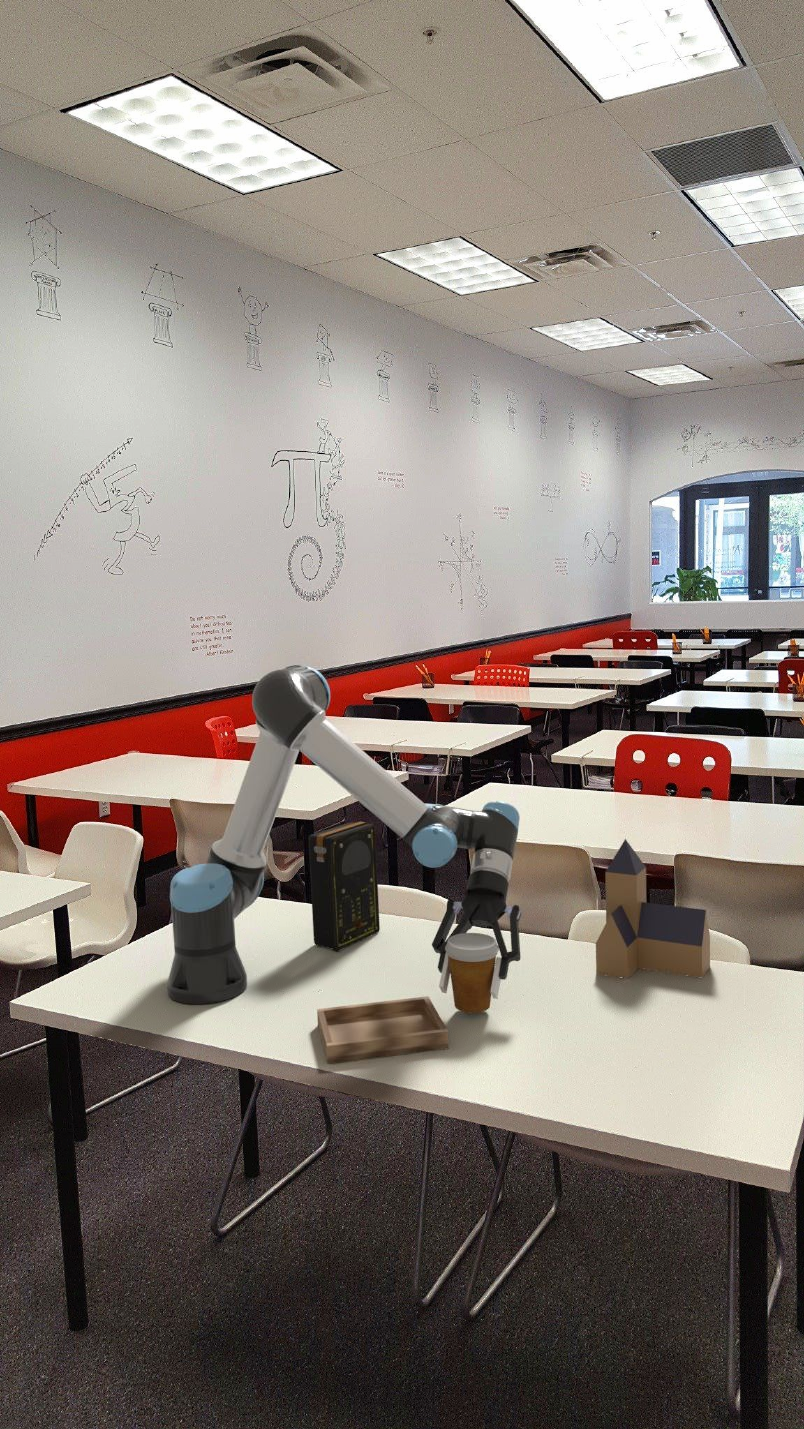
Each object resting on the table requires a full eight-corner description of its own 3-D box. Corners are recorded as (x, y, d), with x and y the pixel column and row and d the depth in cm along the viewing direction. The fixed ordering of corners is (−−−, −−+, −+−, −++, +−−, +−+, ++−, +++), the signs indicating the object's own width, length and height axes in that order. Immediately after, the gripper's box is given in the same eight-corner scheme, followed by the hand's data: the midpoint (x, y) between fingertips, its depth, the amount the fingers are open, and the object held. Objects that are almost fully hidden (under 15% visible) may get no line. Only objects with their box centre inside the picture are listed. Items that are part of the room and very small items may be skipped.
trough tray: (327, 1063, 161) (326, 1046, 161) (317, 1025, 176) (317, 1009, 176) (448, 1048, 165) (447, 1031, 165) (429, 1012, 180) (428, 996, 179)
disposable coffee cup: (509, 1004, 179) (509, 940, 177) (476, 1022, 172) (475, 954, 171) (468, 990, 185) (468, 928, 184) (434, 1006, 179) (433, 942, 177)
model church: (616, 953, 205) (615, 833, 202) (710, 967, 196) (709, 842, 193) (596, 974, 195) (594, 848, 192) (693, 990, 185) (693, 858, 182)
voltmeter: (338, 954, 211) (333, 838, 208) (308, 946, 216) (302, 833, 213) (384, 932, 223) (379, 822, 220) (354, 926, 228) (349, 818, 225)
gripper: (430, 864, 189) (405, 977, 176) (542, 872, 182) (524, 990, 169) (439, 883, 195) (415, 994, 182) (548, 892, 188) (531, 1008, 175)
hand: (468, 992), depth 175 cm, fingers closed on disposable coffee cup, 9 cm apart
